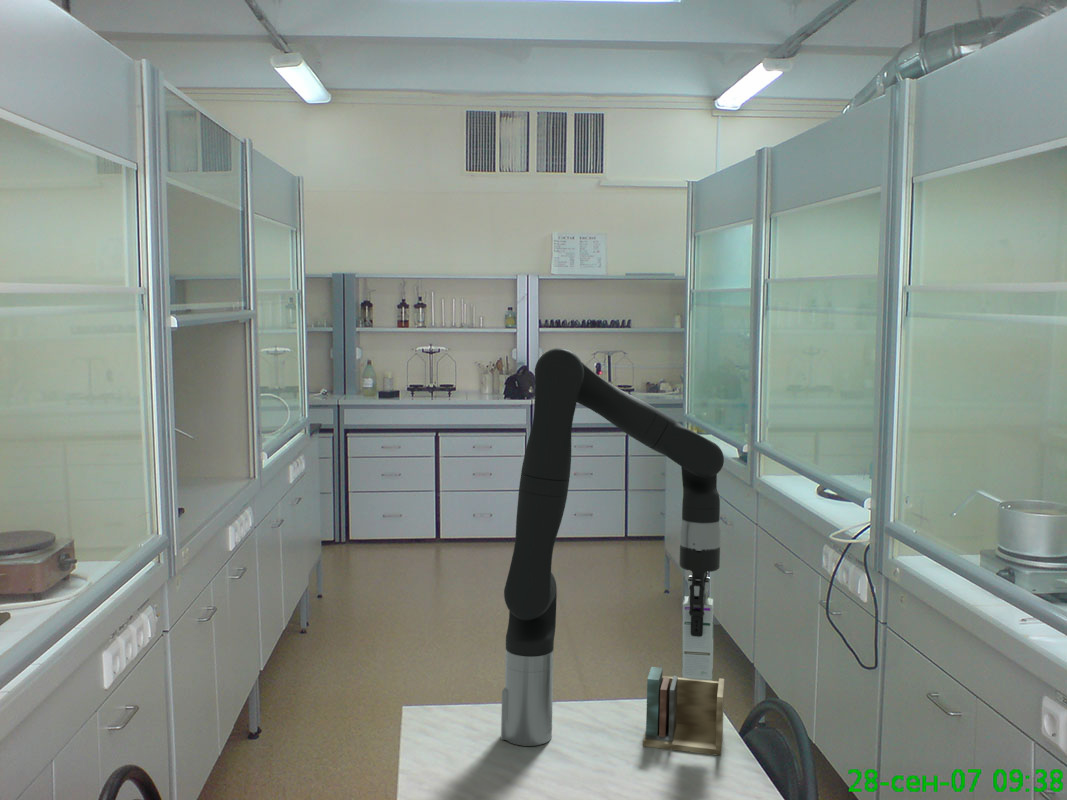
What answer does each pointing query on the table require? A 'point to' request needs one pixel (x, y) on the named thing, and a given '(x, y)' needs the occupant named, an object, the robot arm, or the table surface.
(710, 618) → the syrup box
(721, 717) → the shelf
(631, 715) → the table surface
